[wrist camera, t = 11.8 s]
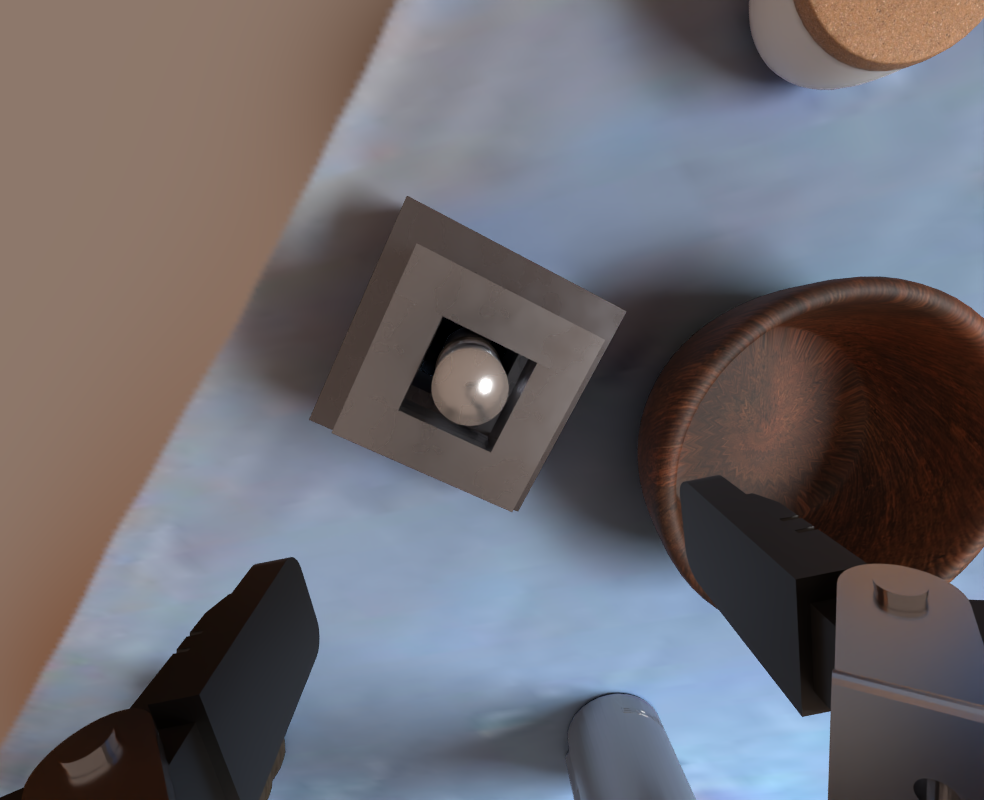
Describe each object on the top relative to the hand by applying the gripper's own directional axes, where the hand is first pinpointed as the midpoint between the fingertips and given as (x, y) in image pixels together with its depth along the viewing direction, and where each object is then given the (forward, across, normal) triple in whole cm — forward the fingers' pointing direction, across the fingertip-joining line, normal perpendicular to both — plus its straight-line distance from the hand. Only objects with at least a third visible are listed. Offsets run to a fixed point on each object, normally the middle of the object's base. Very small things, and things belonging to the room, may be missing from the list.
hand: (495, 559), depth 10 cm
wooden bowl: (+30, -22, +11) cm, 39 cm away
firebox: (+30, 0, 0) cm, 30 cm away
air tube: (+30, 0, 0) cm, 30 cm away
